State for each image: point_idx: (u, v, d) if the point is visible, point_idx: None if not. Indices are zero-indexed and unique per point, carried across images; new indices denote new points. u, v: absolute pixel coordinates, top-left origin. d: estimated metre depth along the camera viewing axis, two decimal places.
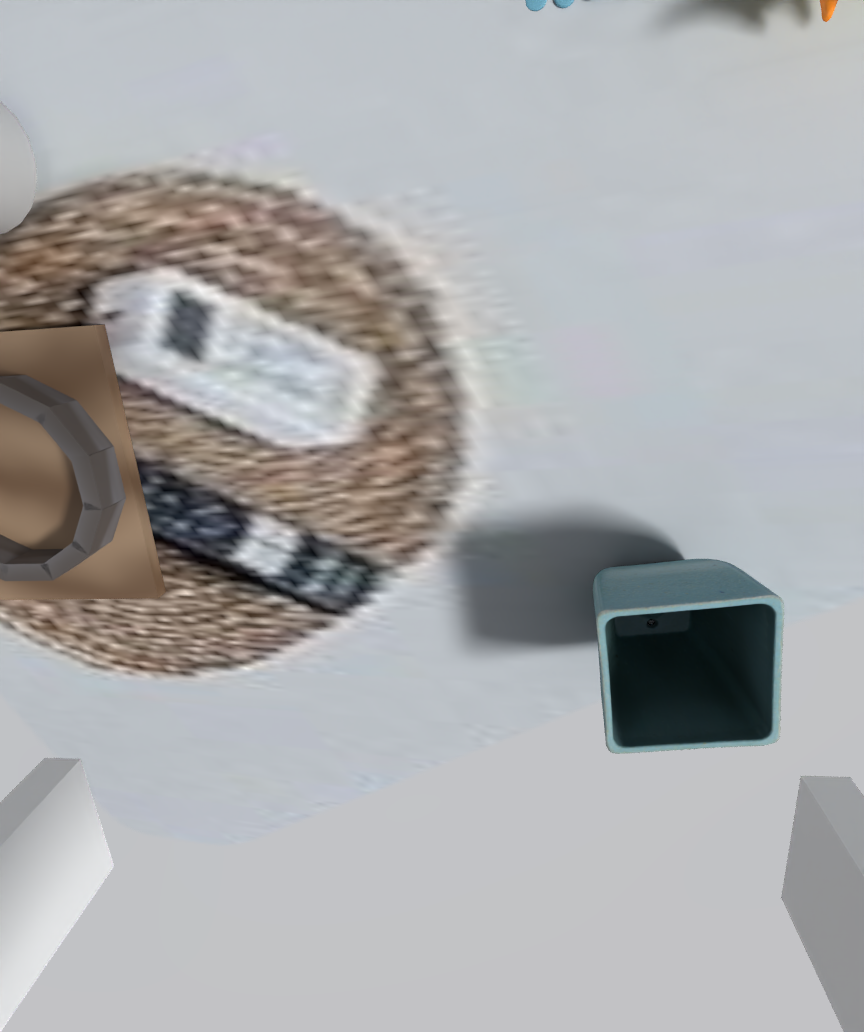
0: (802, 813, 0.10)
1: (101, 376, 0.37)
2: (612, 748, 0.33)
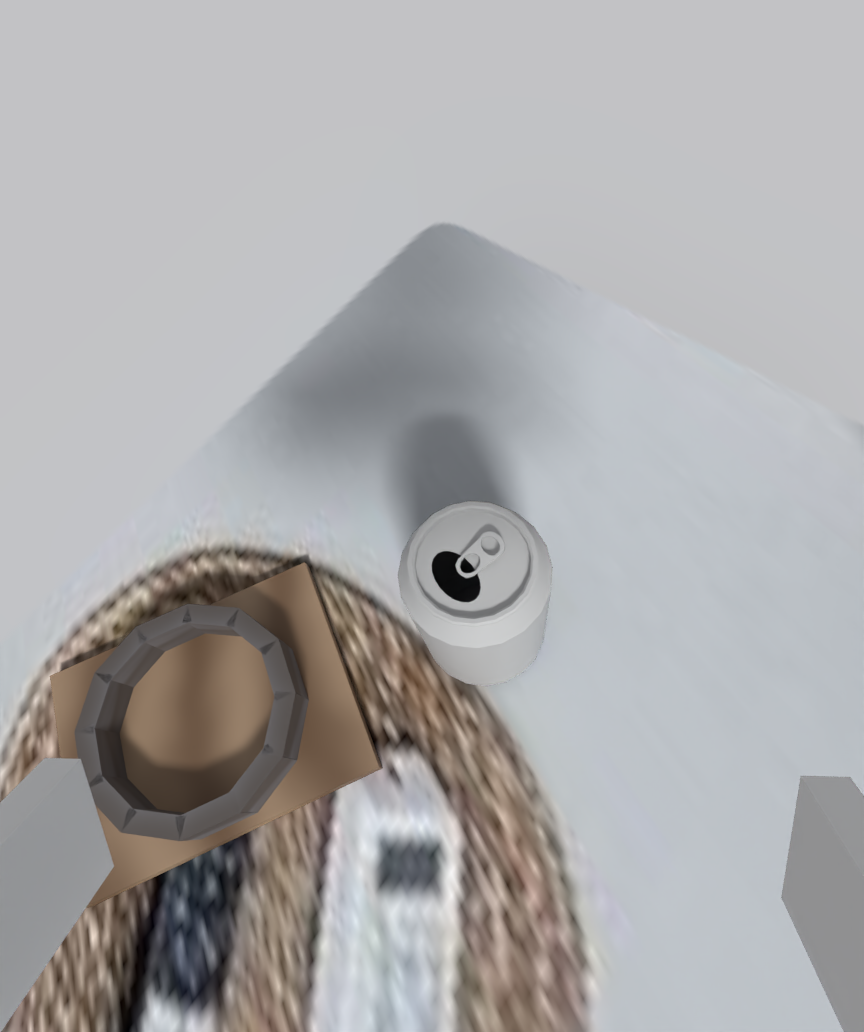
0: (802, 813, 0.10)
1: (329, 784, 0.35)
2: None
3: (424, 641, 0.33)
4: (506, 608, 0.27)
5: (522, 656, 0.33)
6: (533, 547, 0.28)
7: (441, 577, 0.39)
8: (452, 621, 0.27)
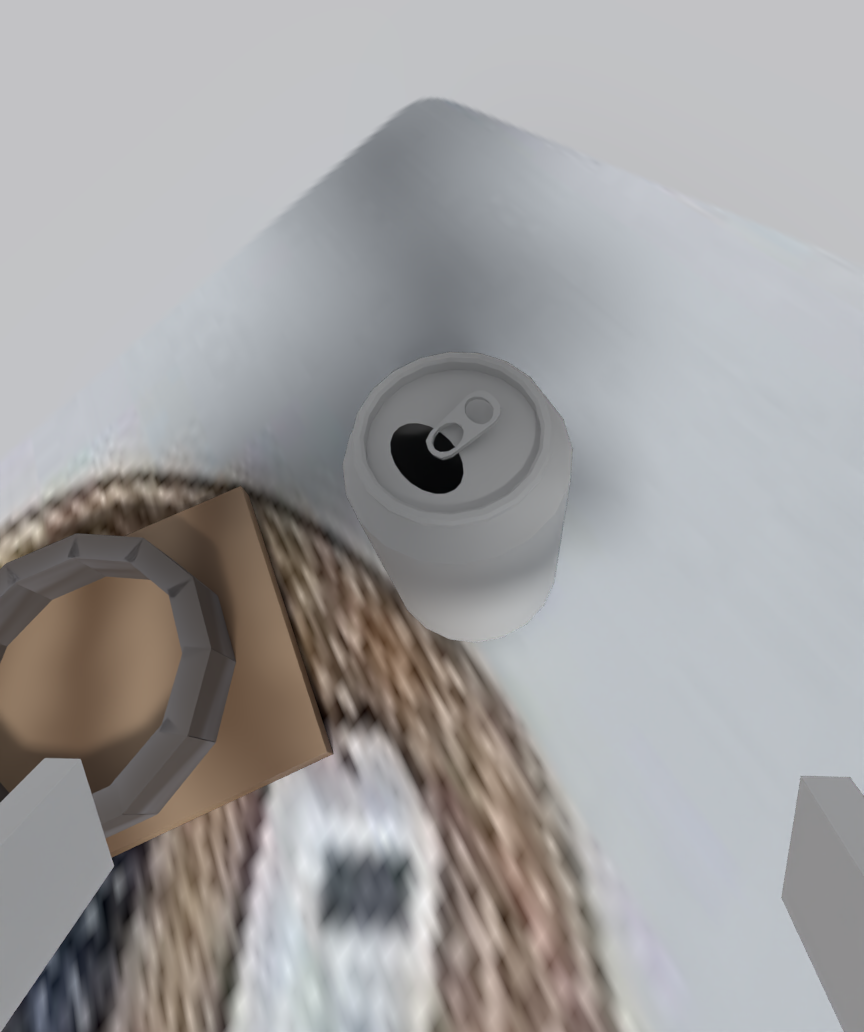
0: (802, 813, 0.10)
1: (257, 775, 0.25)
2: None
3: (387, 572, 0.23)
4: (502, 498, 0.17)
5: (526, 593, 0.23)
6: (544, 411, 0.18)
7: None
8: (418, 518, 0.17)
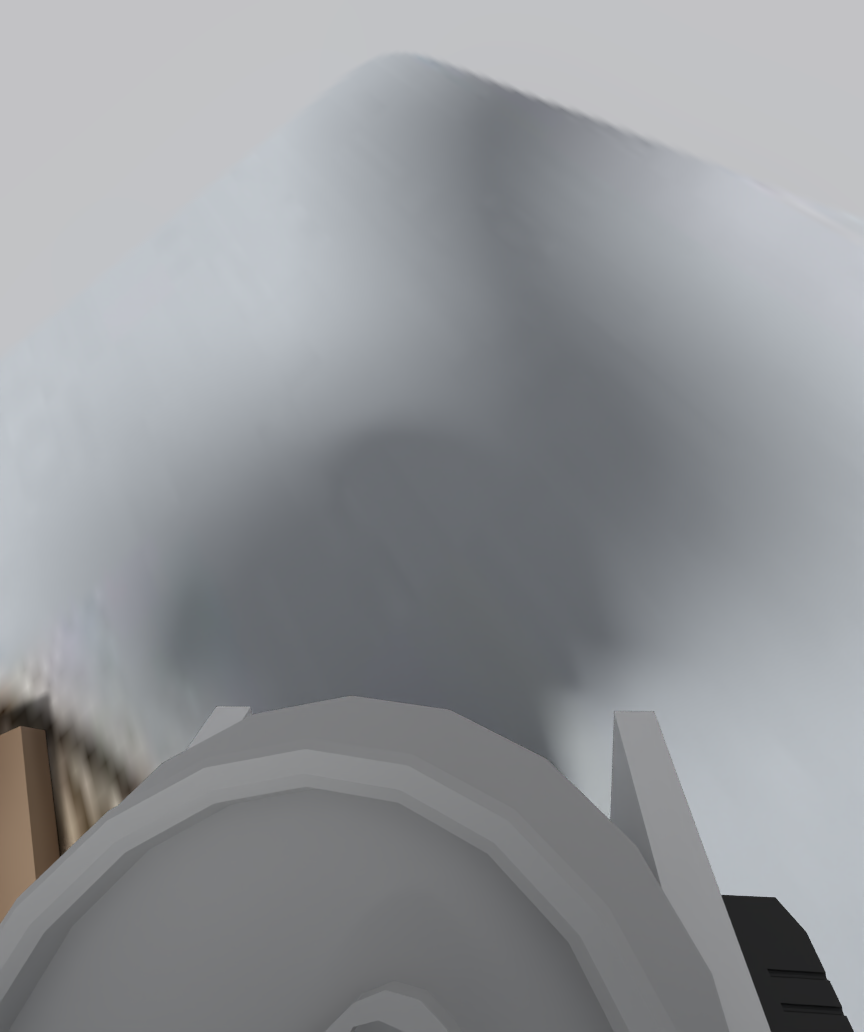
0: (615, 742, 0.12)
1: None
2: None
3: None
4: None
5: None
6: None
7: None
8: None
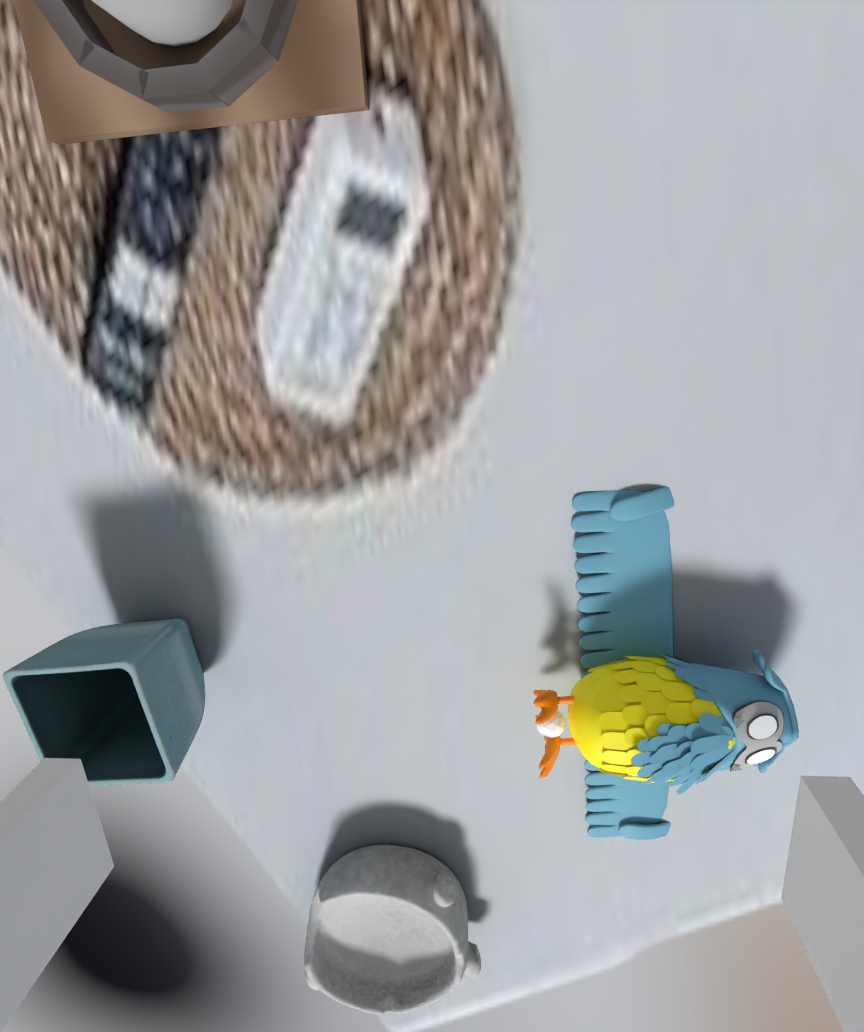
0: (802, 813, 0.10)
1: (308, 103, 0.32)
2: (6, 675, 0.37)
3: None
4: None
5: (149, 2, 0.27)
6: None
7: None
8: None
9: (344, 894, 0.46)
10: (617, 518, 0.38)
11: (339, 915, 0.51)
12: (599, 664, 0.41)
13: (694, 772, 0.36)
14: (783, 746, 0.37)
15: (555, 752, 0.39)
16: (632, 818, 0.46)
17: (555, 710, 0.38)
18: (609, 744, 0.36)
